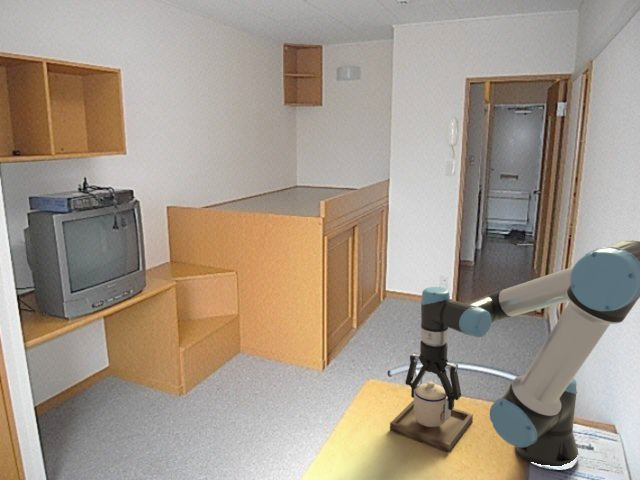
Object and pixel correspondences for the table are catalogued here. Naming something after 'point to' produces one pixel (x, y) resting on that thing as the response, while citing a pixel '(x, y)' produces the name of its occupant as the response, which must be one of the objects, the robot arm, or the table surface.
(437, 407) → the teacup with lid
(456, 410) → the walnut tray
